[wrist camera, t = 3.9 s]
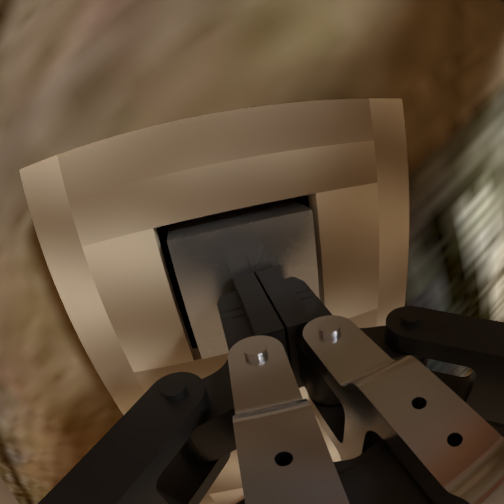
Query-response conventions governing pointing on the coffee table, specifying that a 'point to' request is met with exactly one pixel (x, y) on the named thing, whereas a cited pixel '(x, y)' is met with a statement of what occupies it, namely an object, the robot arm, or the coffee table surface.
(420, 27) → the coffee table surface
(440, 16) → the coffee table surface
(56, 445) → the coffee table surface
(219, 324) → the grey brown square block
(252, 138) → the button console
